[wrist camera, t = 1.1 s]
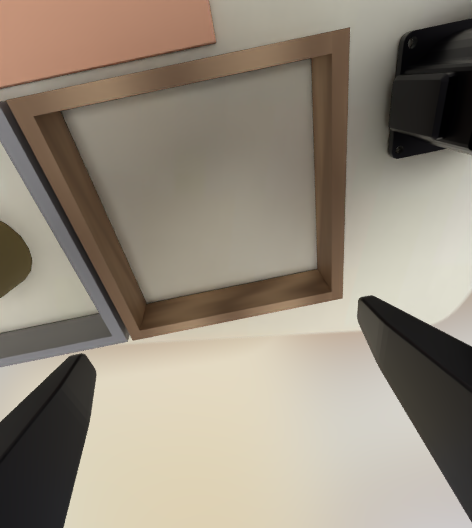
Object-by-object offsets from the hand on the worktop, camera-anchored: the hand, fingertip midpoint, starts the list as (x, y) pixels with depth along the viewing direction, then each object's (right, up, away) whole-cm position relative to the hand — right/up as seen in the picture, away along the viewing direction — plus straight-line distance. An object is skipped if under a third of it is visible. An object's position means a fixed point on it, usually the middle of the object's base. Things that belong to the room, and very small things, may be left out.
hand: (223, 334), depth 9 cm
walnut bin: (-1, +6, +10) cm, 12 cm away
